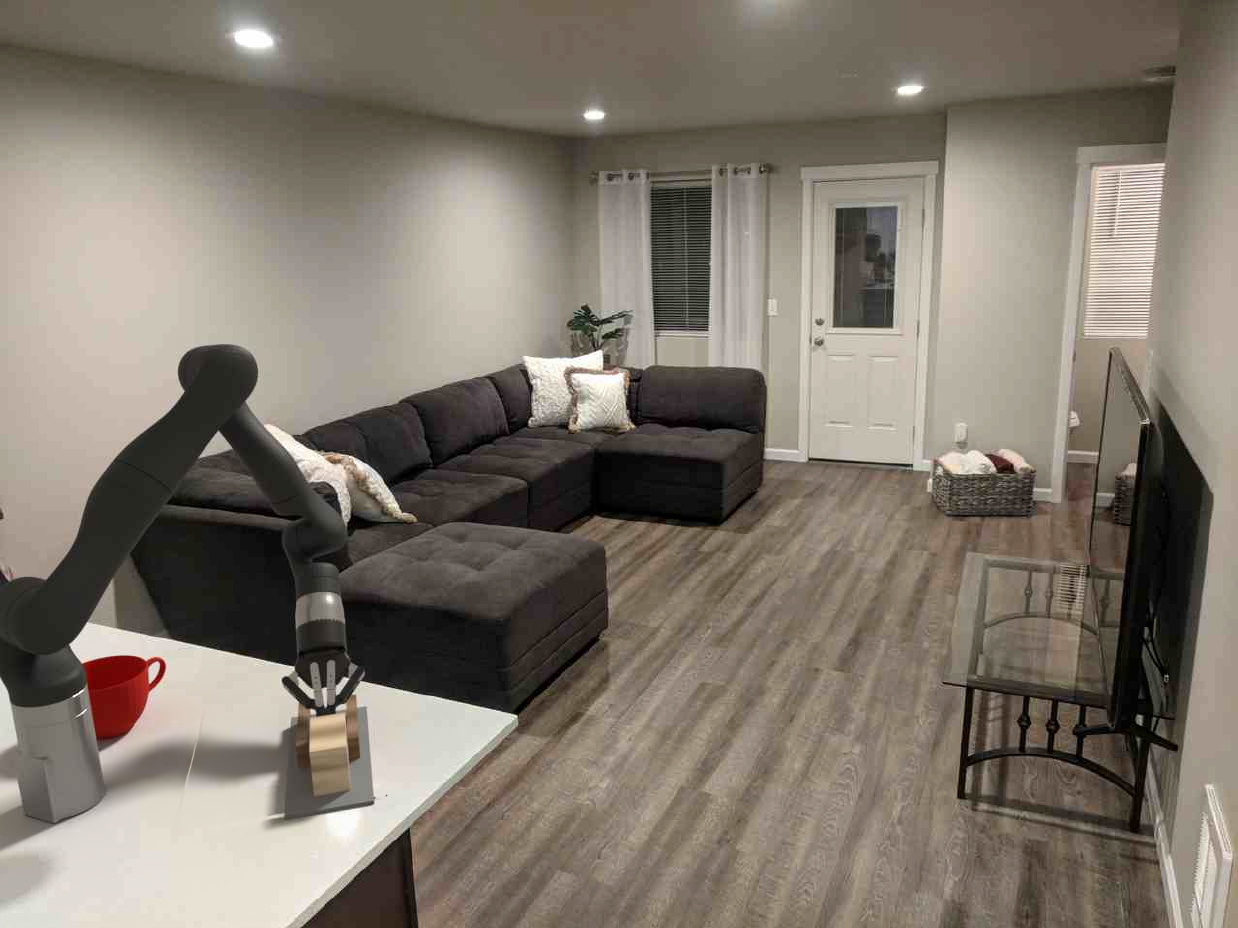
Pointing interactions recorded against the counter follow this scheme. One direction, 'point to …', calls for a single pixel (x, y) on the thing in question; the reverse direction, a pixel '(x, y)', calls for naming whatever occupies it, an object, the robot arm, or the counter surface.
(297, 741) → the chute rails
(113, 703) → the ceramic cup
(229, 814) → the counter surface
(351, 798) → the chute board
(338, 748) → the oak block
